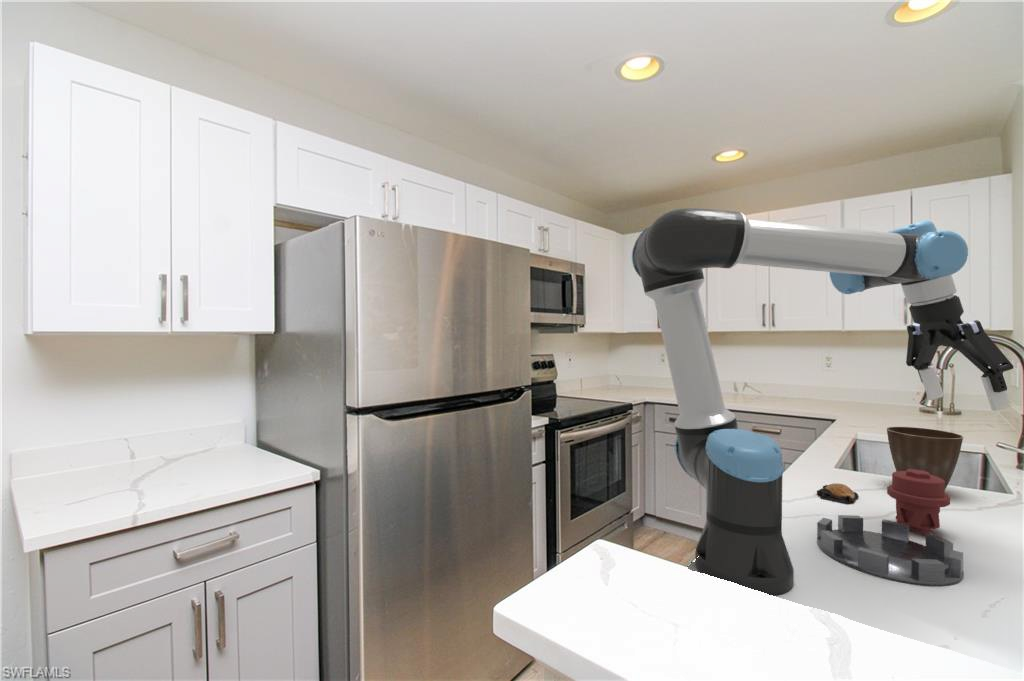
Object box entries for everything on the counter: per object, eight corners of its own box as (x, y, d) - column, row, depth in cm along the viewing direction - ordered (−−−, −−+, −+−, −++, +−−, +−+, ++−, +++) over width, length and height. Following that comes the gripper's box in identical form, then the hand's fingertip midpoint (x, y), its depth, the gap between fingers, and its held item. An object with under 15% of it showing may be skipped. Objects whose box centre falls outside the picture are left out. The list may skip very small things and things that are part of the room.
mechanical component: (928, 522, 102) (962, 542, 92) (876, 519, 104) (904, 537, 94) (929, 466, 102) (963, 480, 92) (877, 463, 104) (905, 477, 94)
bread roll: (821, 490, 126) (821, 476, 126) (860, 497, 120) (860, 483, 120) (813, 500, 118) (814, 485, 118) (855, 508, 112) (855, 493, 112)
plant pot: (909, 481, 131) (910, 425, 131) (976, 499, 117) (977, 436, 117) (872, 487, 126) (873, 428, 126) (937, 506, 112) (938, 439, 112)
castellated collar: (801, 553, 87) (802, 534, 87) (834, 523, 101) (834, 507, 101) (956, 601, 71) (956, 577, 71) (969, 558, 85) (969, 538, 85)
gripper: (1017, 287, 79) (1057, 406, 79) (900, 298, 104) (930, 389, 104) (973, 301, 79) (1012, 420, 79) (867, 309, 104) (897, 399, 104)
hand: (966, 402), depth 91 cm, fingers open, 13 cm apart
